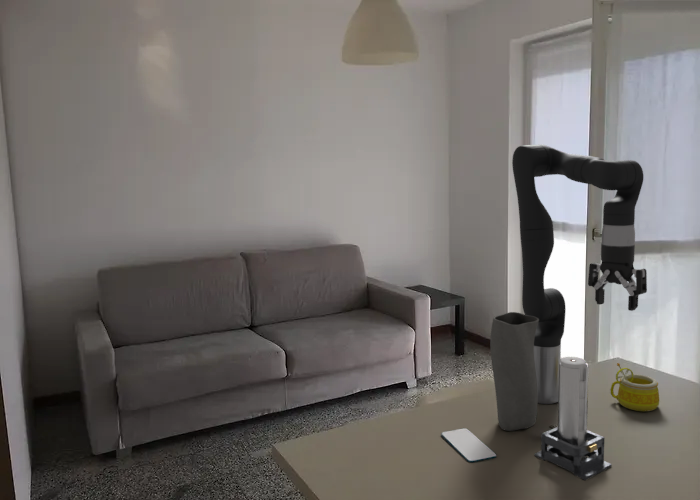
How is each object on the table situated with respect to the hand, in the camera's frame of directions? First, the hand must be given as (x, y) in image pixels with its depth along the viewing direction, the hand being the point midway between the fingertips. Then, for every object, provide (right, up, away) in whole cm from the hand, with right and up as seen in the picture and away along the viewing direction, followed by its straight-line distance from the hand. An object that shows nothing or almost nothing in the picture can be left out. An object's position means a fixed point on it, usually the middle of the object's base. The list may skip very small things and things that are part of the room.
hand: (615, 306), depth 148 cm
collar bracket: (-13, -36, -7) cm, 39 cm away
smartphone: (-36, -36, +3) cm, 51 cm away
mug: (+16, -31, +23) cm, 41 cm away
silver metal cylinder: (-14, -36, -7) cm, 39 cm away
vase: (-22, -34, +13) cm, 42 cm away
